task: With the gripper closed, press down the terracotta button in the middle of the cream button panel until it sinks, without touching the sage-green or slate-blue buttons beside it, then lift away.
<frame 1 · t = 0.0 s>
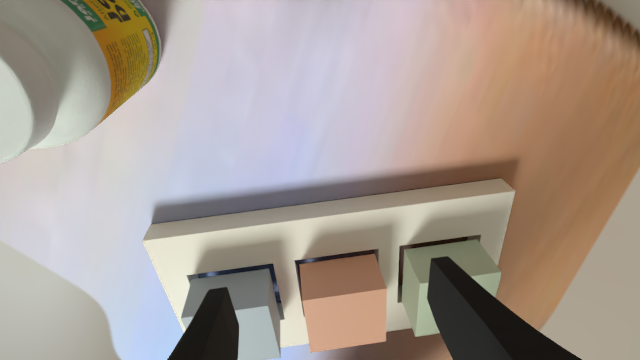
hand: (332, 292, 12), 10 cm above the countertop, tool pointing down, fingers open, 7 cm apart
panel: (335, 268, 26), on the countertop
supplement bottle: (107, 36, 17), on the countertop
sage button: (446, 287, 23), point 3 cm above the countertop, slide at 0.0 cm
terracotta button: (342, 302, 23), point 3 cm above the countertop, slide at 0.0 cm
slate button: (236, 318, 23), point 3 cm above the countertop, slide at 0.0 cm
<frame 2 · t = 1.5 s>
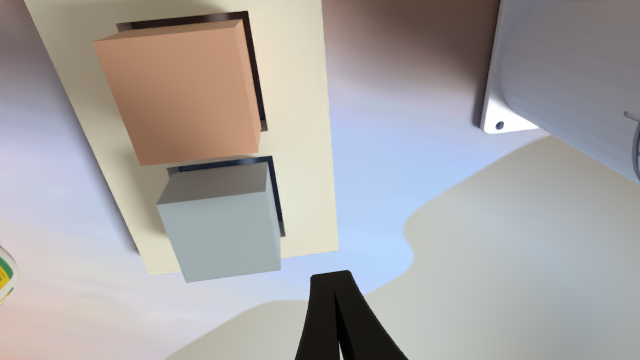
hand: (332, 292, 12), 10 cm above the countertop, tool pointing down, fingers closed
panel: (205, 74, 18), on the countertop
terracotta button: (191, 92, 15), point 3 cm above the countertop, slide at 0.0 cm
slate button: (227, 221, 18), point 3 cm above the countertop, slide at 0.0 cm
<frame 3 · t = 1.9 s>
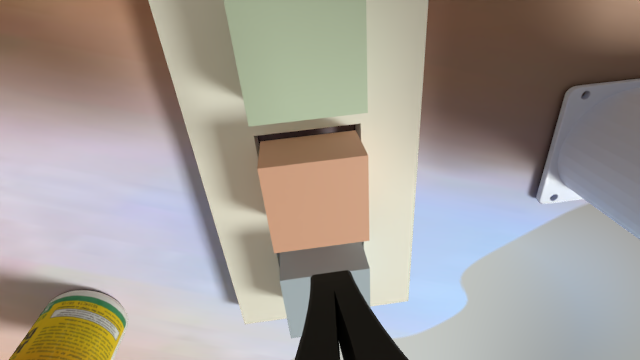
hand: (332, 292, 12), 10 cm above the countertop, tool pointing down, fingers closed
panel: (310, 163, 21), on the countertop
supplement bottle: (91, 310, 25), on the countertop
sage button: (300, 50, 15), point 3 cm above the countertop, slide at 0.0 cm
terracotta button: (315, 191, 18), point 3 cm above the countertop, slide at 0.0 cm
slate button: (325, 285, 22), point 3 cm above the countertop, slide at 0.0 cm
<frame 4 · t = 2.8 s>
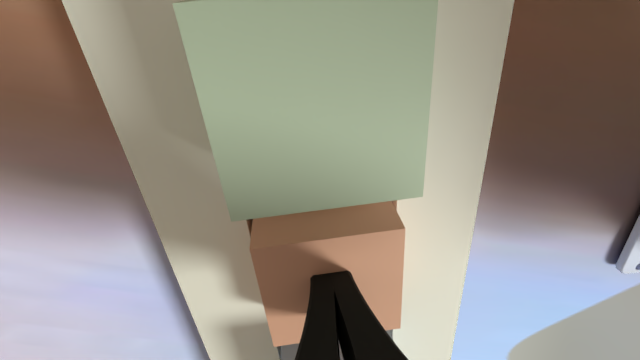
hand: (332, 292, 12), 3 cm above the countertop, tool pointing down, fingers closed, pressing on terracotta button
panel: (322, 231, 15), on the countertop
sage button: (314, 97, 9), point 3 cm above the countertop, slide at 0.0 cm
terracotta button: (328, 263, 14), point 2 cm above the countertop, slide at -1.2 cm, touching gripper
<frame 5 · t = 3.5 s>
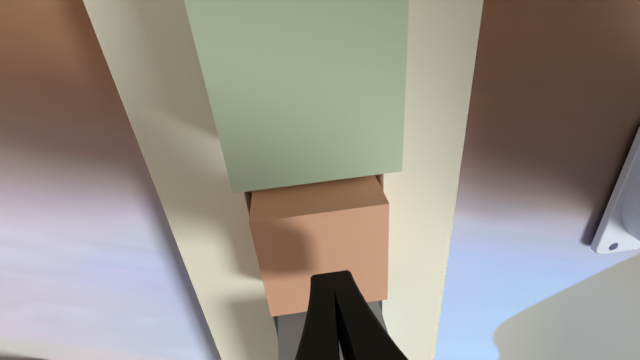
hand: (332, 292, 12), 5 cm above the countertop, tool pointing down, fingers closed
panel: (316, 213, 17), on the countertop
sage button: (305, 83, 10), point 3 cm above the countertop, slide at 0.0 cm
terracotta button: (320, 240, 15), point 2 cm above the countertop, slide at -1.2 cm
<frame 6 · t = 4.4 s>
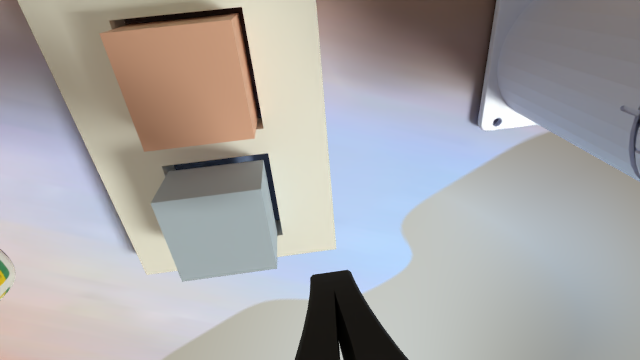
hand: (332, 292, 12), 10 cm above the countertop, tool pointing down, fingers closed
panel: (200, 71, 18), on the countertop
terracotta button: (191, 81, 16), point 2 cm above the countertop, slide at -1.2 cm
slate button: (223, 220, 18), point 3 cm above the countertop, slide at 0.0 cm
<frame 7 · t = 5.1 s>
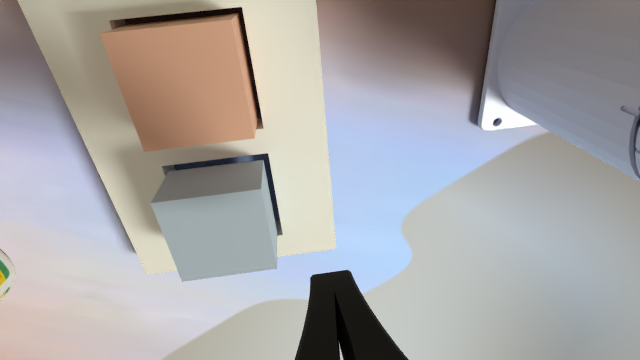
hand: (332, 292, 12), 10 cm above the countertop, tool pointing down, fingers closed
panel: (200, 71, 18), on the countertop
terracotta button: (191, 81, 16), point 2 cm above the countertop, slide at -1.2 cm
slate button: (223, 220, 18), point 3 cm above the countertop, slide at 0.0 cm
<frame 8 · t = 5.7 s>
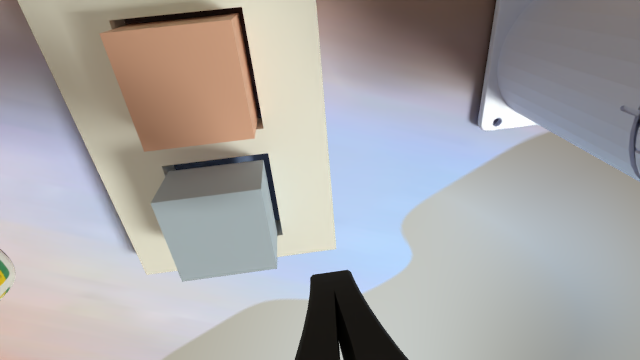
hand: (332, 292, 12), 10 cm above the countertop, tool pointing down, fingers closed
panel: (200, 71, 18), on the countertop
terracotta button: (191, 81, 16), point 2 cm above the countertop, slide at -1.2 cm
slate button: (223, 220, 18), point 3 cm above the countertop, slide at 0.0 cm
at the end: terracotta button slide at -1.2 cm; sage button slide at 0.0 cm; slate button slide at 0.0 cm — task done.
